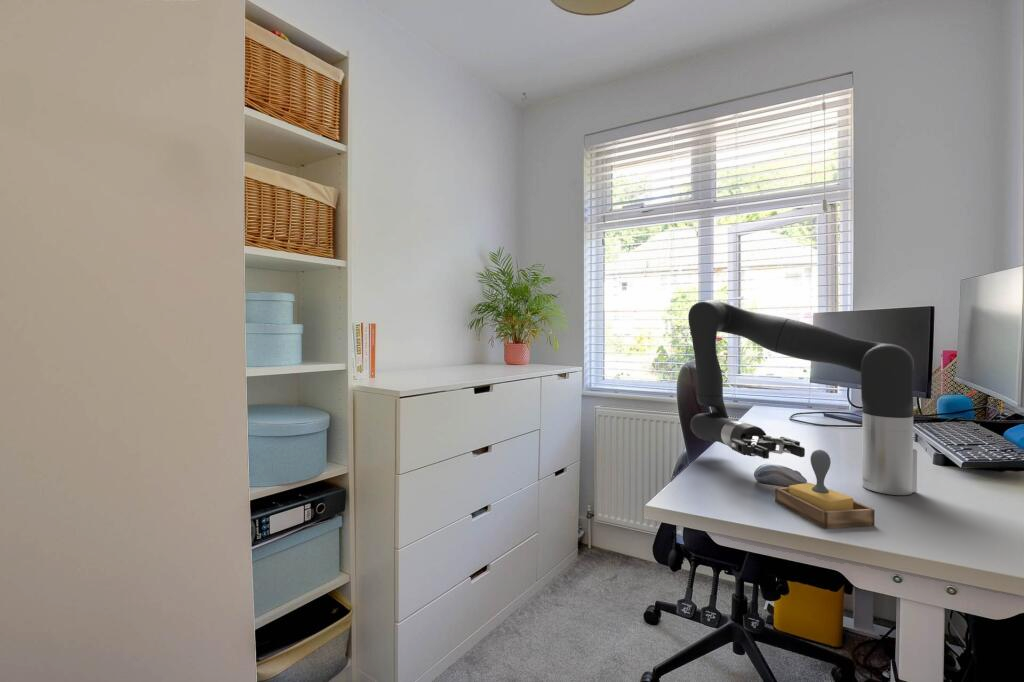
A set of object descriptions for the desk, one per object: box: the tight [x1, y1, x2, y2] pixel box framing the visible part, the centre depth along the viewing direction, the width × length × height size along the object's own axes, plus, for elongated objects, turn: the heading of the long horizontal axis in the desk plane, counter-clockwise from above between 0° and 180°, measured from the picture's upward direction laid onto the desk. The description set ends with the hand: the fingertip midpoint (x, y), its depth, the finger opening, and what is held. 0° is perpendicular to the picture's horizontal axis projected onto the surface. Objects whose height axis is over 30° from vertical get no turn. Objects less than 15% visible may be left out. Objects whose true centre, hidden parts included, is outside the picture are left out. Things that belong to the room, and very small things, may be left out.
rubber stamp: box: [788, 449, 854, 511], centre depth 98 cm, size 10×6×12 cm, turn 17°
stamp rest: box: [774, 486, 876, 530], centre depth 99 cm, size 10×14×3 cm
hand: (785, 453), depth 109 cm, fingers open, 8 cm apart
